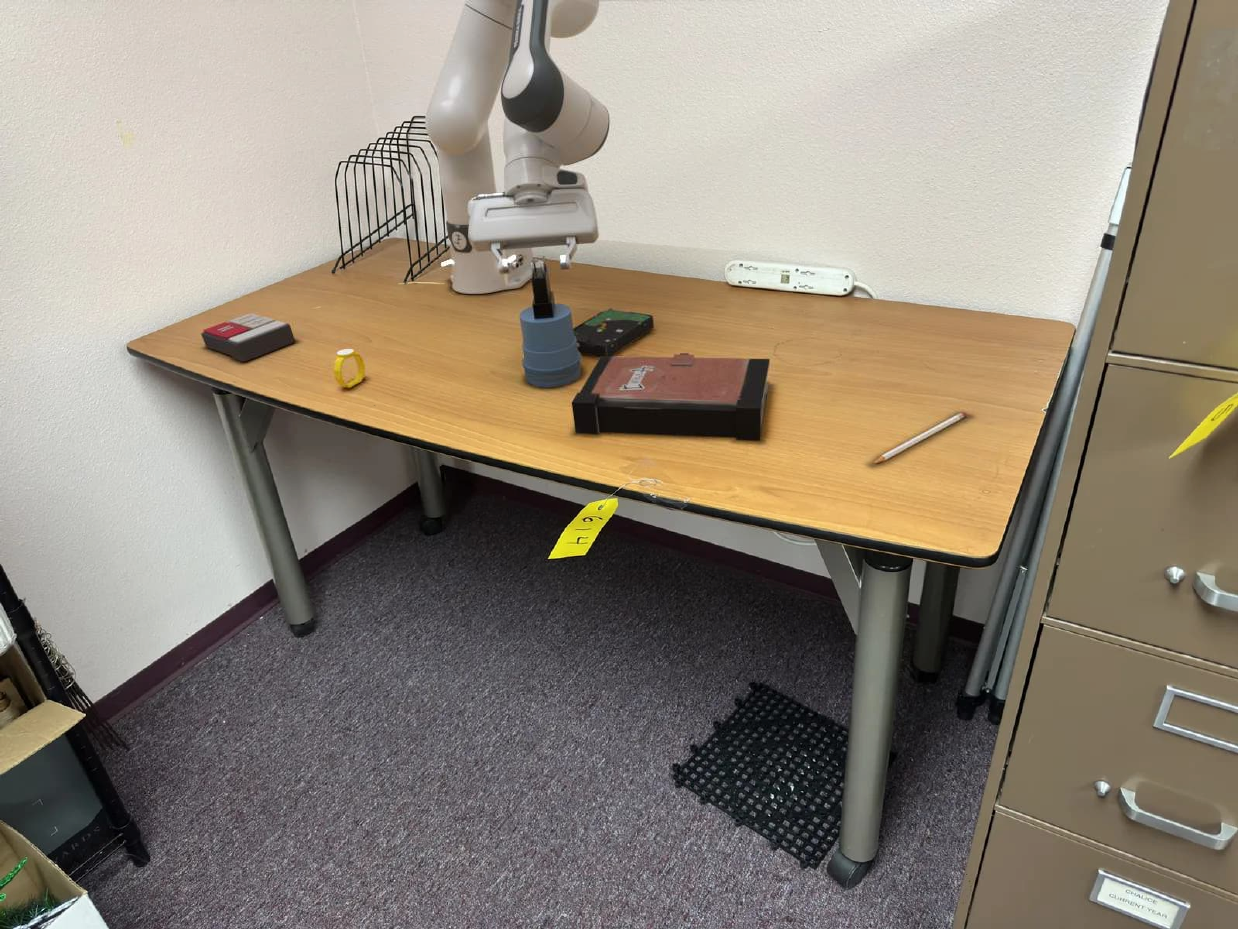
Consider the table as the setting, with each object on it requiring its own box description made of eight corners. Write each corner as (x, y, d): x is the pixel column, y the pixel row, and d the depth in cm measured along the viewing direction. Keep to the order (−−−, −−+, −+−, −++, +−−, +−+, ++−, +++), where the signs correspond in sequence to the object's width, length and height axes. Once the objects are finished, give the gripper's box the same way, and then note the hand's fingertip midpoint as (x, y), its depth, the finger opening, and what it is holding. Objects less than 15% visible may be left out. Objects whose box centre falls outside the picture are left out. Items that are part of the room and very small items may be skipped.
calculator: (250, 310, 164) (289, 320, 155) (258, 330, 167) (296, 341, 157) (198, 329, 158) (235, 340, 148) (206, 350, 160) (243, 362, 151)
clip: (536, 307, 131) (529, 255, 127) (555, 305, 131) (548, 253, 127) (534, 319, 127) (526, 266, 123) (553, 317, 127) (546, 264, 122)
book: (769, 383, 126) (770, 353, 123) (760, 440, 111) (760, 408, 109) (604, 380, 132) (601, 351, 129) (575, 433, 117) (571, 402, 115)
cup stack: (546, 359, 141) (537, 298, 135) (593, 368, 136) (586, 305, 130) (513, 383, 134) (502, 319, 128) (562, 392, 129) (553, 327, 123)
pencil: (966, 417, 112) (967, 412, 112) (876, 466, 104) (876, 462, 103) (961, 415, 113) (962, 411, 112) (870, 464, 104) (871, 459, 104)
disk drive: (608, 361, 138) (655, 328, 148) (607, 346, 137) (654, 314, 147) (560, 351, 144) (608, 320, 154) (558, 336, 142) (606, 306, 152)
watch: (348, 393, 136) (339, 360, 133) (335, 391, 137) (325, 358, 134) (371, 377, 140) (362, 345, 137) (358, 376, 141) (349, 344, 138)
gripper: (462, 184, 127) (463, 265, 123) (594, 173, 126) (598, 255, 123) (472, 206, 133) (473, 284, 130) (597, 196, 132) (601, 274, 129)
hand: (535, 270), depth 126 cm, fingers open, 8 cm apart
